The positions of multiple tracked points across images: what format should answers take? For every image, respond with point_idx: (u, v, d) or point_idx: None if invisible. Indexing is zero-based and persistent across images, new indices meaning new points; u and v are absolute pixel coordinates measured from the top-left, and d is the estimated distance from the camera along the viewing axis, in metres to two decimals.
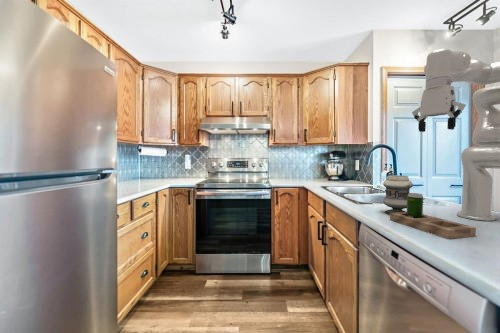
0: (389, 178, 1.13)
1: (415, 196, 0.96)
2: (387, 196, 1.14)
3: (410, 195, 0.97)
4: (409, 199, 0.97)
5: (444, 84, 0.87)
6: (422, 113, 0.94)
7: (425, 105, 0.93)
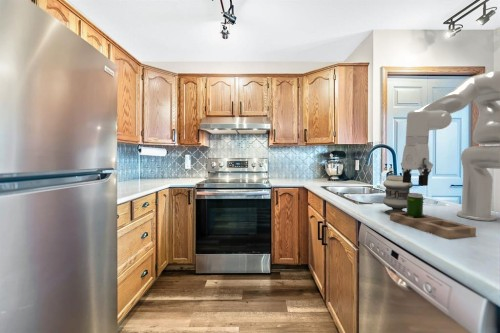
0: (389, 178, 1.13)
1: (415, 196, 0.96)
2: (387, 196, 1.14)
3: (410, 195, 0.97)
4: (409, 199, 0.97)
5: None
6: None
7: None
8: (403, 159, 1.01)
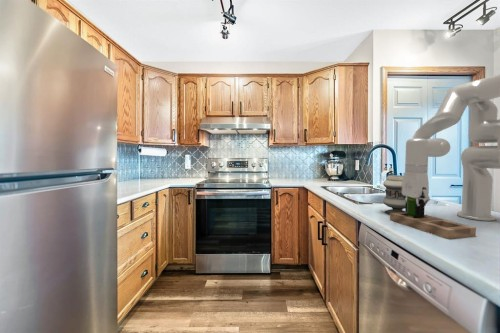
0: (389, 178, 1.13)
1: None
2: (387, 196, 1.14)
3: None
4: (409, 199, 0.97)
5: None
6: None
7: None
8: (403, 186, 1.01)
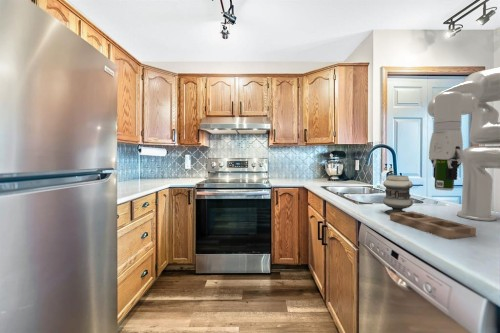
0: (389, 178, 1.13)
1: None
2: (387, 196, 1.14)
3: None
4: (439, 162, 0.86)
5: None
6: None
7: None
8: (431, 148, 0.90)
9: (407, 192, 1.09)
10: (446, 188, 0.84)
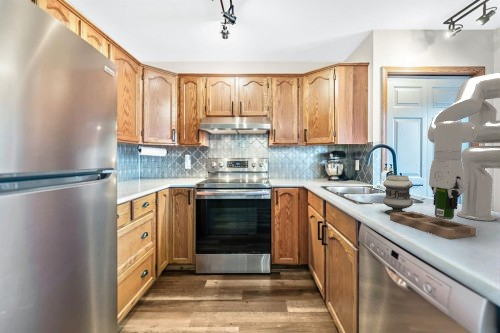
0: (389, 178, 1.13)
1: None
2: (387, 196, 1.14)
3: None
4: (439, 190, 0.86)
5: None
6: None
7: None
8: (431, 176, 0.89)
9: (407, 192, 1.09)
10: (446, 217, 0.84)
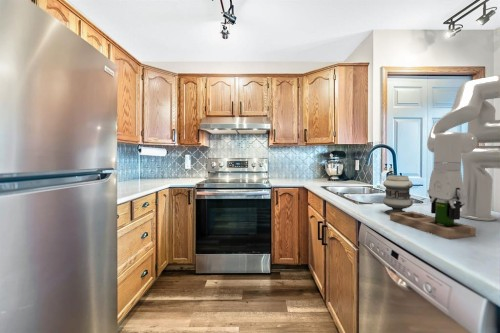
0: (389, 178, 1.13)
1: (446, 202, 0.84)
2: (387, 196, 1.14)
3: (440, 200, 0.86)
4: (438, 205, 0.86)
5: None
6: None
7: None
8: (430, 186, 0.90)
9: (407, 192, 1.09)
10: None
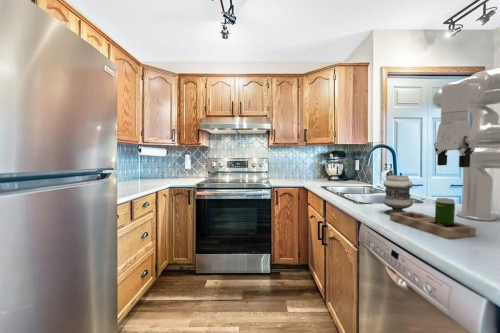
0: (389, 178, 1.13)
1: (446, 202, 0.84)
2: (387, 196, 1.14)
3: (440, 201, 0.86)
4: (438, 205, 0.86)
5: None
6: None
7: None
8: (438, 139, 0.90)
9: (407, 192, 1.09)
10: None
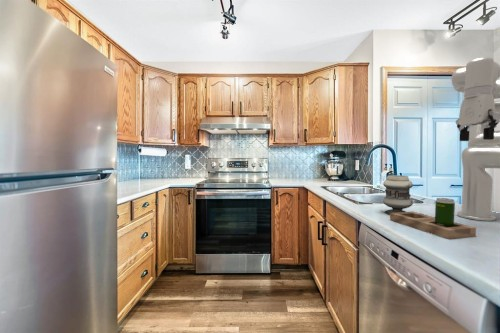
0: (389, 178, 1.13)
1: (446, 202, 0.84)
2: (387, 196, 1.14)
3: (440, 201, 0.86)
4: (438, 205, 0.86)
5: None
6: None
7: None
8: (461, 115, 0.93)
9: (407, 192, 1.09)
10: None
